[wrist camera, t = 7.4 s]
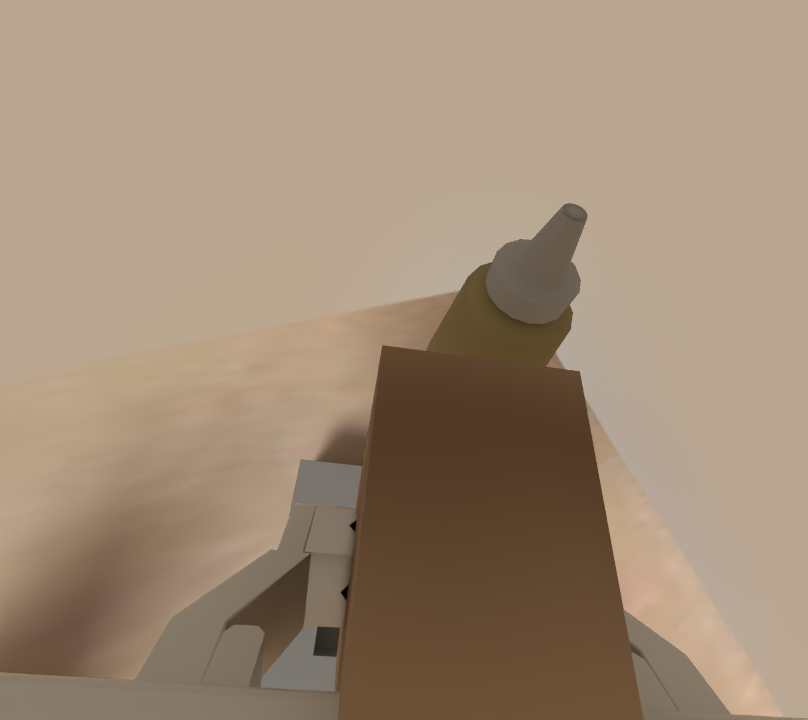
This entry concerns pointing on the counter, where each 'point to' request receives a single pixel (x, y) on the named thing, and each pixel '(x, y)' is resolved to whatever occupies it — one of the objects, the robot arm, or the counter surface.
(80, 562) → the counter surface
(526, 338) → the squeeze bottle
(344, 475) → the grey hollow block
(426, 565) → the wooden block
